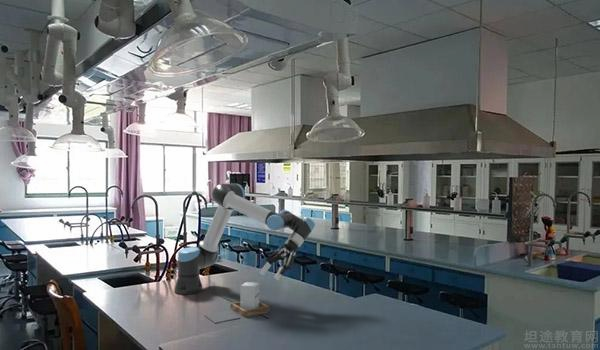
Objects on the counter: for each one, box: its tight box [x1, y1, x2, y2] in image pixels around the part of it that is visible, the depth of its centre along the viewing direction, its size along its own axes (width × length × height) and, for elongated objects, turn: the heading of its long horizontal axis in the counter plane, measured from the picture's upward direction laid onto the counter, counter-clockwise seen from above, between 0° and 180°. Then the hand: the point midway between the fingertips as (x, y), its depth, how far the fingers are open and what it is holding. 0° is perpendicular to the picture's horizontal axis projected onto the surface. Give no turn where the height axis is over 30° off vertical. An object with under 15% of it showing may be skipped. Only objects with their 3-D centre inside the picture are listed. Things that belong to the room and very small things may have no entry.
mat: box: [203, 310, 241, 324], centre depth 186 cm, size 12×12×1 cm
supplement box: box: [239, 281, 260, 310], centre depth 196 cm, size 7×7×13 cm
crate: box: [229, 301, 270, 318], centre depth 196 cm, size 15×13×3 cm
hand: (268, 276), depth 202 cm, fingers open, 13 cm apart
